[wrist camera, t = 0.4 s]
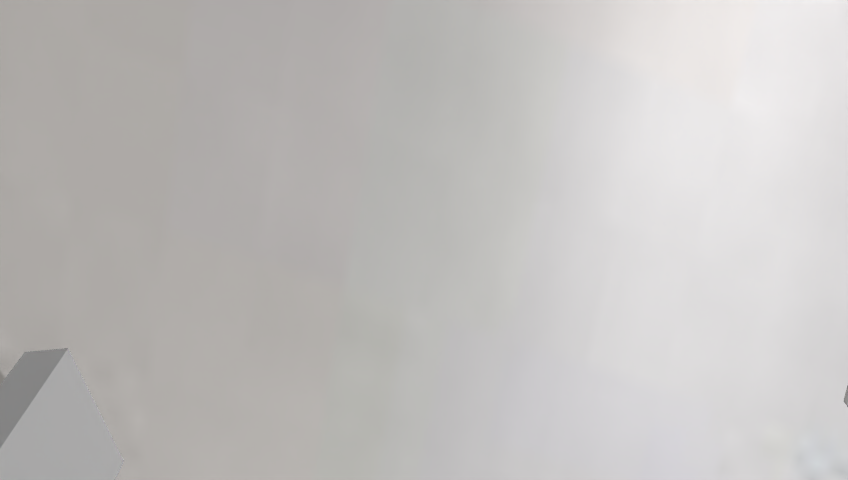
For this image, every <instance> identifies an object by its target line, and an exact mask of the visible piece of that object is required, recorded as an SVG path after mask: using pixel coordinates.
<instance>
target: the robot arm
mask: <svg viewBox="0 0 848 480" xmlns="http://www.w3.org/2000/svg"><path fill="white" fill-rule="evenodd" d="M844 402H845V404H846V405H847V407H848V386H847V390H846V394H845V398H844ZM123 462H124V460H123V458H122V456H121V454H120V452H119V450H118V448H117V446H116V444H115V442H114V440H113V438H112V436H111V434H110V432H109V430H108V427H107V425H106V423H105V421H104V419H103V417H102V415H101V413H100V411H99V409H98V407H97V405H96V403H95V401H94V399H93V397H92V395H91V393H90V391H89V389H88V387H87V385H86V383H85V381H84V379H83V377H82V375H81V373H80V371H79V369H78V367H77V365H76V363H75V361H74V359H73V357H72V355H71V353H70V351H69V349H68V348H64V349H54V350H43V351H33V352H25V353H24V354H23V355H22V357H21V358H20V359H19V361H18V362H17V363H16V365H15V366H14V367H13V369H12V370H11V371H10V373H9V374H8V375H7V377H6V378H5V379H4V381H3V382H2V383H1V385H0V480H115V479H116V477H117V475H118V473H119V471H120V468H121V466H122V464H123Z"/></svg>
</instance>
